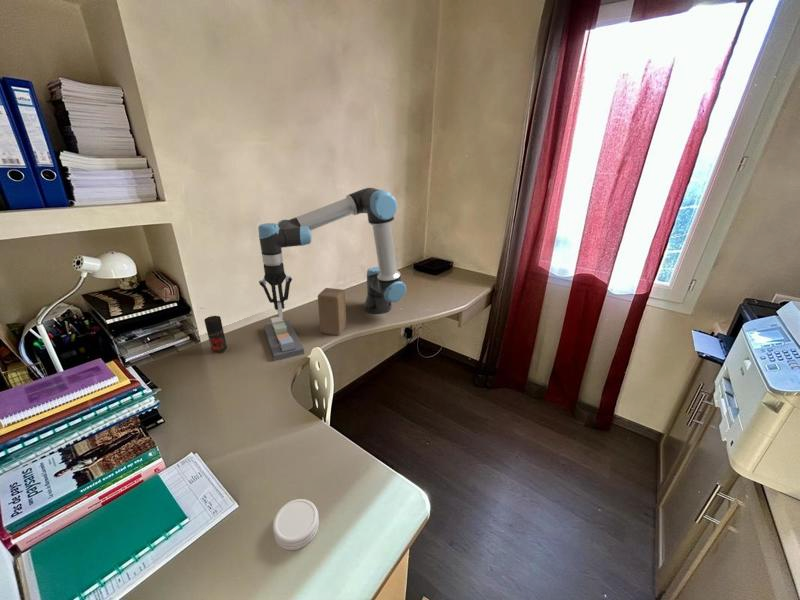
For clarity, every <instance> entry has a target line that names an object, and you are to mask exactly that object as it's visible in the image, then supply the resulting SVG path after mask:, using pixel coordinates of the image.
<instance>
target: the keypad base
mask: <svg viewBox="0 0 800 600" xmlns="http://www.w3.org/2000/svg"><path fill="white" fill-rule="evenodd" d="M284 322H285V325H286V327H287V333H289V336H291V337H292V339H293V341H294V349H292V350H288V351H284V352H282V350H281V347H280V344H278V342H277V336H276V335H275V332H274V329H273V327H272V324H271V323H268V324H263V329H264V332H265V337H266V338H267V341H268V344H269V348H270V350H271V353H272V356H273V359H274V361H279V360H283V359H287V358H292V357H295V356H301V355H304V354H305V349H304V346H303V345H302V343H301V341H300V338H299V336H298V335H297V333H296V331H295V328H294V327H293V325H292V322H291V320H290V319H288V320H284Z"/></svg>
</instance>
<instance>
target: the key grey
mask: <svg viewBox="0 0 800 600" xmlns="http://www.w3.org/2000/svg"><path fill="white" fill-rule="evenodd" d="M284 321H285V320H284V319H283V317H279V316H277V317H276V316H275V317H271V318H270V324H272V327H273V330H274V326H273V325H274V324H279V323H284Z"/></svg>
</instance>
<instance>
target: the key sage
mask: <svg viewBox="0 0 800 600" xmlns="http://www.w3.org/2000/svg"><path fill="white" fill-rule="evenodd" d="M273 326H274V329H273V330H274V332H275V335H276V336H275V337H277V335H279V334H284V333H287V327H286V325H285V322H284V323H279V324H274V325H273Z"/></svg>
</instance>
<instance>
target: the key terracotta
mask: <svg viewBox="0 0 800 600" xmlns="http://www.w3.org/2000/svg"><path fill="white" fill-rule="evenodd" d="M276 337H277V342H278V344H280V342H279V339H281V338H286V337H290V336H289V333H284V334H279V335H277V336H276Z"/></svg>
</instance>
